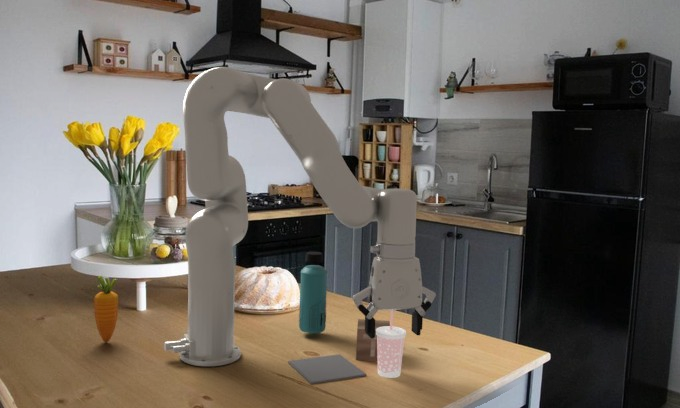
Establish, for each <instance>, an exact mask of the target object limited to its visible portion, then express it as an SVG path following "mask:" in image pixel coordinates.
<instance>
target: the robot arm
mask: <svg viewBox="0 0 680 408" xmlns="http://www.w3.org/2000/svg"><path fill="white" fill-rule="evenodd" d="M227 112H235V113H242V114H246V115H251V116H256V117H261V118H266V119H270V121H271V122H272V124H273V125H274V126H275V128H276V130H278V133H280V135H281V136H282V137H283V139H284V140H285V141H286V143H287V145H289V148H290V149H291V150H292V151H293V152H294V154H295V156H297V158H298V160H299V162H300V163H301V166H302V168H303V170H304V172H305V173H306V174H307V176H308V178H309V180H310V181H311V183H312V185H313V187H314V188H315V190H316V191H317V193H318V194H319V196H320V197H321V198H322V200H323V201H324V203H325V204H326V206H327V208H329V211H331V212H332V214H333V215H334V217H335V218H336V219H337V220H338V221H339V222H340V223H341V224H342V225H344V226H345V227H348V228H349V229H361V228H363V227H366V226H367V225H368V224H369V223H371V222H377V240H376V243H375V245H371V246H370V248H369V249H370V250H369V251H370V253H372V254H376V256H374V257H373V260H372V265H371V270H370V276H369V283H368V284H369V285H368V286H367V287H366V288H364V289H362V290H360V291H359V292H357V293H355V294H353V295H352V300H353V302H354V304H355V306H356V308H357V309H358V311H359V312H360V313H361V314H362V315H363V316H364V320H365V332H366V333H367V335H368V336H369V337H370V338H371V339H373V338H375V320H376V319H375V318H374V316H375V315H376V314H377V313H378V312H379V311H391V310H393V311H397V310H398V311H399V310H400V311H401V310H412V309H413V312H412V314H411V332H413V334H414V335H416V336H421V331H422V330H423V316H425V315H426V312H427V311H428V310H429V309H430V308H431V307H432V303H433V302H434V300H435V298H436V296H437V293H436V292H435V291H433V290H431V289H429V288H427V287H425V286H423V281H422V280H423V279H422V278H423V277H422V269H421V268H422V267H421V263H420V258H418V257H417V256H416V230H417V228H416V227H417V205H418V203H417V202H418V201H417V200H418V199H417V197H418V196H417V194H416V192H415V191H414V190H412V189H408V188H378V187H377V188H375V187H371V186H364V185H361V183H360V182H359V181H358V180H357V178H356V177H355V175H354V174H353V172H352V171H351V170H350V169H351V168H350V167H348V165H347V163H346V160H344V157H343V156H342V153H341V150H340V146H339V143H338V140H337V138H336V135H335V134H334V132H333V131H332V130H331V128H330V127H329V126H328V124H327V122H325V120H324V119H323V118H322V116H321V115H320V113H319V112H318V110H317V109H316V108H315V106H314V105H313V104H312V100H311V95H310V93H309V91H308V90H307V88H306V87H305V86H304V85H303V84H301V83H299V82H297V81H295V80H292V79H290V78H282V77H281V78H278V79H276V78H271V77H268V76H266V77H265V76H261V75H256V74H250V73H248V72H243V71H241V70H238V69H235V68H232V67H228V66H218V67H217V66H216V67H213V68H210V69H207V70H204V71H203V72H201V73H200V74H199V75H198V76H196V77H195V78H194V79H193V80H192V82H191V83H190V84H189V86H188V87H187V89H186V92H185V95H184V99H183V104H182V118H183V126H184V127H183V128H184V141H185V144H184V145H185V147H184V148H185V161H186V179H187V186H188V189H189V191H190V193H191V194H192V195H193V197H194V198H195V199H197V200H200V201H203V202H204V203H205V208H204V209H202V210H201V209H200V211H199V210H198V212H196V213H195V214H194V215H193V216H192V217H191V218H190V219H189V221H188V223H187V225H186V228H185V236H184V237H185V247H186V252H187V253H186V254H187V255H186V256H187V267H188V268H187V271H188V277H187V279H188V281H187V282H188V283H187V284H188V287H187V288H188V289H187V290H188V291H187V292H188V294H187V300H188V301H187V333H184V334H183V338H179V340H169V341H168V340H167V341H164V342H163V347H164V348H163V349H164V351H165V352H168V351H169V352H170V351H172V353H173V354H176V353H177V354H178V353H179V359H180V360H181V361H182V362H183V363H186V364H189V365H191V366H196V367H221V366H225V365H229V364H233V363H235V362H236V361H238V360H239V359H240V358H241V356H242V354H241V352H242V351H241V348H240V347H239V346H237V345H236V344H235V343H234V338H235V337H234V336H235V332H234V331H235V295H236V294H235V293H236V292H235V291H236V269H235V268H236V266H235V259H234V258H235V257H234V251H233V247H234V246H235V245H237V244H238V243H240V242H241V241H242V240H243V239H244V238H245V236H246V234H247V231H248V229H249V213H248V212H249V211H248V209H249V208H248V197H247V182H246V181H247V180H246V176H245V175H246V174H245V171H244V167H243V166H242V165H241V163H240V162H239V161H238V160H237V158H235V157H234V156H232V155H229V145H228V144H229V143H228V137H229V136H228V132H227V131H228V130H227V127H226V123H225V114H226V113H227ZM423 295H425V298H424V300H423ZM366 298H368V303H369V304H367V306H365V305H364V302H363V300H364V299H366Z"/></svg>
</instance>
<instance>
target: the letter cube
mask: <svg viewBox="0 0 680 408" xmlns="http://www.w3.org/2000/svg"><path fill="white" fill-rule="evenodd" d="M382 326H390V320H381V319H380V320H378V319H375V338H373V339H371V338H370V337H369V336H368V335H367V333H366V332H365V318H363V319H361V318H358V319H357V328H356V330H357V331H356V346H355V347H356V349H355V350H356V351H355V353H356V354H355V361H362V362H363V361H365V362H377V335H376V329H377V328H379V327H382Z"/></svg>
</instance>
